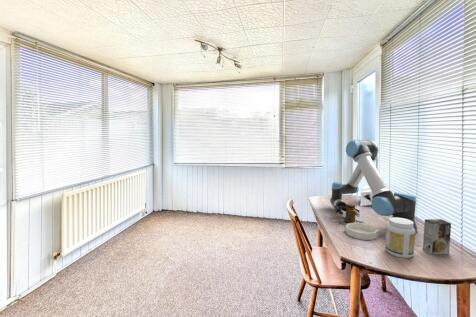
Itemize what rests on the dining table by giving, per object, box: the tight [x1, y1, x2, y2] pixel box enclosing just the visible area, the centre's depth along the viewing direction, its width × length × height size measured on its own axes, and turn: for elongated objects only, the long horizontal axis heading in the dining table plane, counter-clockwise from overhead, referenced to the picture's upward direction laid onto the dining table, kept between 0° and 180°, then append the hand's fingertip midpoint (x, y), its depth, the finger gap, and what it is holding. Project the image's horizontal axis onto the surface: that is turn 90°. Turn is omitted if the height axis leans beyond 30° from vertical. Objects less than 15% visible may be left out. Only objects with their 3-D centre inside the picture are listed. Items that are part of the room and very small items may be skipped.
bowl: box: [344, 222, 379, 241], centre depth 151 cm, size 17×17×4 cm
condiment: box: [340, 203, 358, 224], centre depth 171 cm, size 7×8×12 cm
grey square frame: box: [334, 216, 364, 226], centre depth 171 cm, size 14×14×1 cm
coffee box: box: [422, 218, 452, 255], centre depth 128 cm, size 9×6×16 cm
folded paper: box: [360, 184, 373, 207], centre depth 217 cm, size 17×24×17 cm
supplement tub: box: [385, 217, 416, 259], centre depth 126 cm, size 12×12×17 cm
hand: (352, 215), depth 166 cm, fingers open, 8 cm apart
